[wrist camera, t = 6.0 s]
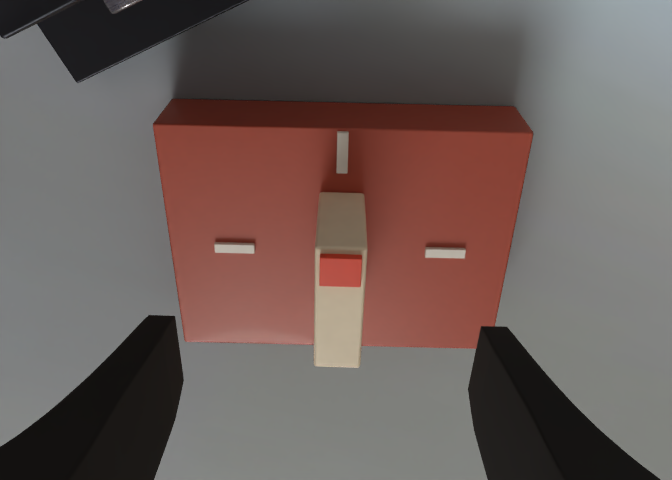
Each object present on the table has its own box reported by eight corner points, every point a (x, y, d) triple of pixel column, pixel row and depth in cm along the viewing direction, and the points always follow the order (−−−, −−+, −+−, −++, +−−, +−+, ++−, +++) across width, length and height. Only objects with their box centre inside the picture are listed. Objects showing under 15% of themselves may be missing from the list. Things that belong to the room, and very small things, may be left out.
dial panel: (197, 303, 26) (183, 345, 23) (171, 98, 21) (150, 125, 19) (478, 309, 26) (491, 352, 23) (515, 105, 21) (535, 134, 19)
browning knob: (358, 302, 22) (360, 374, 19) (318, 301, 22) (313, 372, 19) (364, 192, 20) (367, 253, 17) (319, 190, 20) (314, 251, 17)
